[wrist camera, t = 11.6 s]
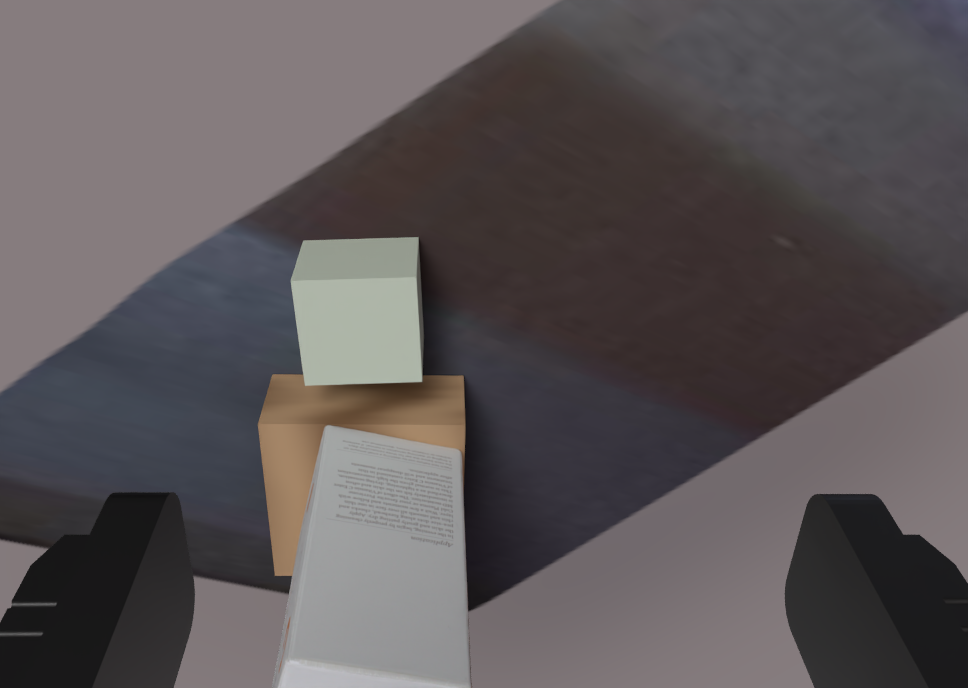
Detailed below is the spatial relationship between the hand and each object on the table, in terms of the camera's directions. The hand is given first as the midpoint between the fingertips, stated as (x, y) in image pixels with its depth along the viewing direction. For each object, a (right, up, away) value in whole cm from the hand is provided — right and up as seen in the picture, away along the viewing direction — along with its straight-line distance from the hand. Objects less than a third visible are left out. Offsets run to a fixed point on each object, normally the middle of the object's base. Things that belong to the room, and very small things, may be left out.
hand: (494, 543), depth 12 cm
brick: (-5, +5, +30) cm, 31 cm away
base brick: (-6, -3, +34) cm, 35 cm away
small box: (-5, -5, +31) cm, 32 cm away
